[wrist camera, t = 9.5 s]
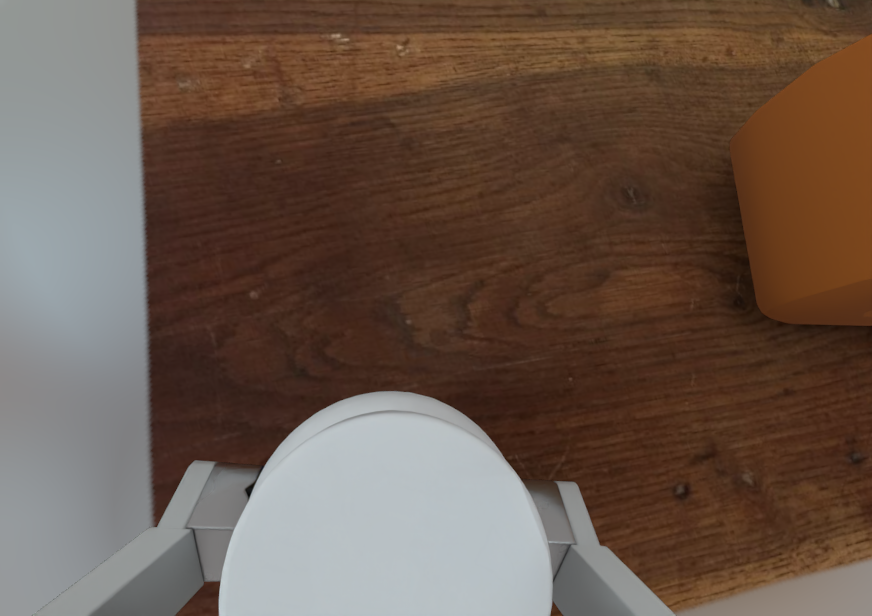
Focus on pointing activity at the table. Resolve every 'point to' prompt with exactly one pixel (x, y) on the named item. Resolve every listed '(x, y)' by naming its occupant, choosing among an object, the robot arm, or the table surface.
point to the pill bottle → (388, 520)
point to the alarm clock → (811, 193)
